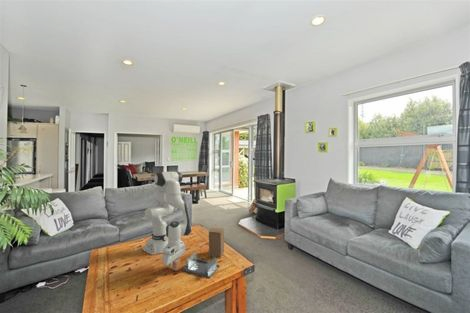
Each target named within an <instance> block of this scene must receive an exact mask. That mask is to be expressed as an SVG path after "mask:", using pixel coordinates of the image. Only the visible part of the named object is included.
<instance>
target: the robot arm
mask: <svg viewBox="0 0 470 313" xmlns="http://www.w3.org/2000/svg"><path fill="white" fill-rule="evenodd" d="M153 181H154V182H153V183H154V184H155V185H156V187H155V191H154V192H155V193H154V198H155V200H156V201H158V204H156V205H152V206H149V207H147V208H145V211H144V217H145V218H146V219H147V220H148V221H150V222H151V224H152V232H153V233H152V234H151V235H150V236H151V238H149V239H148V240H147V241H146V243H145V246H143V248H142V251H143V250H144V251H143V252H145V251H146V252H145V253H148V254H150V255H152V256H153V255H158V254H162V255H161V256H162V260H161V261H162V265H164V266H169V264H170V267H173V266H174V264H172V263H173V261H174V260H175V259H180V258H181V256H182V255H184V254H185V253H186V245H185V241H184V240H181V239H182V238H181V237H182V236H185V237H186V236H189V235H190V234H191V233H192V225H191V221H190V217H189V216H190V215H189V211H188V208H187V207H188V206H187V203H186V200H184V199H183V197H182V194H181V192H182V191H181V185H180V184H181V183H182V182H183V174H182V173H181V172H180V171H162V172H161V171H159V172H156V173H155V174H154V177H153ZM174 208H177V209H179V210H180V211H181V213H182V218H183V221H180V222H179V221H171V222H170V223H167V222H166V221H164V220H162V218H164V217H165V216H166V217H168V216H169V215H171V214H172V213H174V211H175V210H174ZM180 260H181V259H180Z"/></svg>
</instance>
